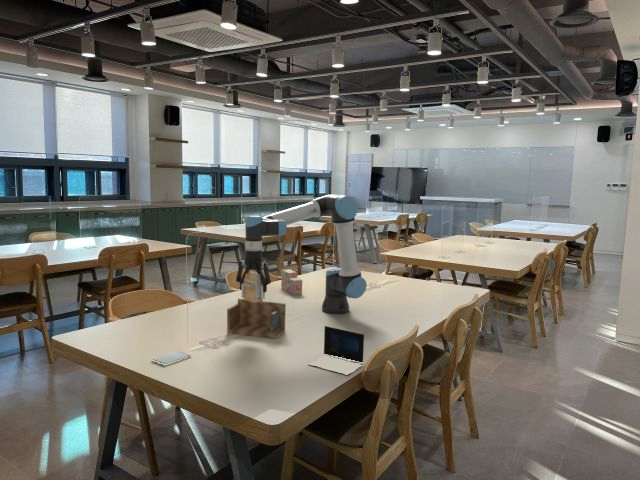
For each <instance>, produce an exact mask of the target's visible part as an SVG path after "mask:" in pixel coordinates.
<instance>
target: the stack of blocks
mask: <svg viewBox="0 0 640 480" xmlns="http://www.w3.org/2000/svg"><path fill="white" fill-rule="evenodd" d="M280 271H281V272H280V273H281V275H280V276H281V278H280V279H281V284H280V286H281V287H282V288H281V289H282V290H284V291H286V292H288V293H289V294H291V295H293V296H294V295H302V294H303V279H302V278H300V277H298V271H296V270H293V269H292V268H288V269H281V270H280Z"/></svg>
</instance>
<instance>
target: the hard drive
mask: <svg viewBox="0 0 640 480" xmlns="http://www.w3.org/2000/svg"><path fill="white" fill-rule="evenodd" d="M190 356H191V357H192V354H190V353H187V352H185V351H181V350H177V351H173V352H170V353H167V354H164V355H161V356H158V357H155V358H152V359H153V360H155V361H158V362H160V363H163V364H168V363H171V362H174V361H177V360H180V359H183V358H186V357H190Z"/></svg>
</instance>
